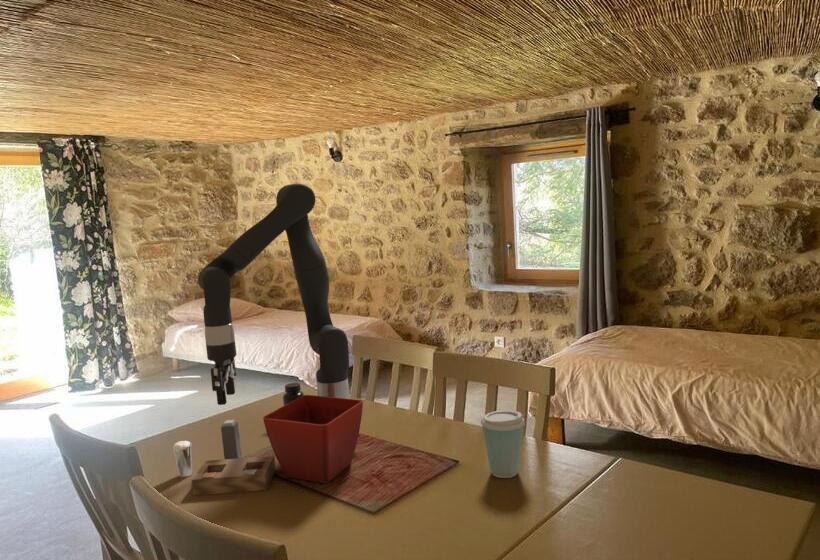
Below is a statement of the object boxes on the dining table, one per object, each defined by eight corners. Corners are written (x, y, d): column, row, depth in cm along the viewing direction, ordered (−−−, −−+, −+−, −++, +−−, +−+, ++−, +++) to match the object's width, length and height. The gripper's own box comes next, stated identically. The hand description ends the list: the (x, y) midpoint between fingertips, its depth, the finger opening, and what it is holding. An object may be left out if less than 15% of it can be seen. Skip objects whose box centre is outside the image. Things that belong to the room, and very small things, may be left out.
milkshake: (191, 479, 159) (187, 442, 157) (173, 478, 160) (168, 442, 159) (200, 471, 163) (196, 435, 162) (182, 470, 164) (178, 435, 163)
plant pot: (369, 459, 163) (364, 399, 161) (331, 492, 146) (325, 425, 144) (310, 451, 171) (304, 394, 169) (267, 481, 154) (260, 418, 152)
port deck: (275, 470, 160) (274, 454, 160) (266, 489, 150) (264, 473, 149) (207, 475, 160) (205, 459, 160) (193, 495, 149) (191, 478, 149)
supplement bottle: (286, 418, 200) (282, 382, 199) (307, 415, 201) (303, 380, 199) (284, 425, 193) (280, 389, 192) (305, 423, 194) (302, 386, 193)
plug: (241, 459, 169) (237, 418, 168) (238, 464, 166) (233, 423, 164) (229, 460, 169) (224, 419, 168) (225, 465, 166) (220, 424, 164)
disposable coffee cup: (474, 475, 150) (471, 416, 148) (499, 459, 157) (496, 403, 155) (511, 486, 142) (508, 425, 140) (535, 469, 150) (532, 411, 148)
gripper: (227, 346, 156) (233, 407, 158) (241, 334, 170) (246, 390, 172) (197, 348, 156) (204, 409, 158) (214, 336, 170) (220, 392, 172)
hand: (226, 399), depth 165 cm, fingers open, 8 cm apart
